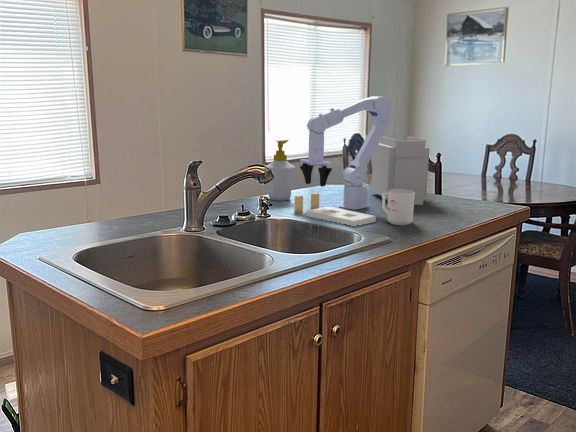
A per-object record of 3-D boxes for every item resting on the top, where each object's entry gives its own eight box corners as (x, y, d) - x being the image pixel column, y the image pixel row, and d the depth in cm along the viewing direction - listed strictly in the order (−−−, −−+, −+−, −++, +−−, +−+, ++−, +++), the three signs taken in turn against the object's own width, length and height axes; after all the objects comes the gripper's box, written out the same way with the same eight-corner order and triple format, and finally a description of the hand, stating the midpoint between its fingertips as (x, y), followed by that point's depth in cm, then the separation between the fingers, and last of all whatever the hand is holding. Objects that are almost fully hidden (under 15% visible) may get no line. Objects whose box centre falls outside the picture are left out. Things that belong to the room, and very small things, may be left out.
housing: (328, 211, 208) (328, 206, 208) (375, 221, 193) (375, 216, 192) (306, 216, 200) (306, 210, 200) (353, 226, 185) (354, 221, 184)
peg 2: (314, 207, 215) (315, 192, 214) (320, 208, 213) (321, 193, 212) (309, 208, 213) (309, 193, 212) (315, 210, 211) (315, 194, 210)
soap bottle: (300, 198, 233) (301, 140, 228) (284, 203, 223) (285, 142, 217) (275, 195, 240) (276, 138, 234) (258, 200, 229) (258, 140, 224)
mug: (417, 223, 192) (419, 191, 189) (403, 227, 186) (405, 194, 183) (389, 217, 200) (390, 187, 198) (374, 220, 194) (375, 189, 192)
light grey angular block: (390, 205, 222) (393, 140, 217) (370, 193, 248) (373, 135, 243) (430, 204, 225) (435, 140, 220) (406, 193, 251) (410, 135, 245)
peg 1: (298, 210, 209) (298, 195, 208) (304, 212, 207) (304, 196, 206) (292, 211, 207) (292, 196, 206) (298, 213, 205) (298, 197, 203)
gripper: (295, 148, 210) (294, 183, 213) (323, 151, 200) (322, 188, 203) (307, 147, 215) (307, 181, 218) (336, 150, 205) (335, 186, 208)
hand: (315, 184), depth 211 cm, fingers open, 7 cm apart
